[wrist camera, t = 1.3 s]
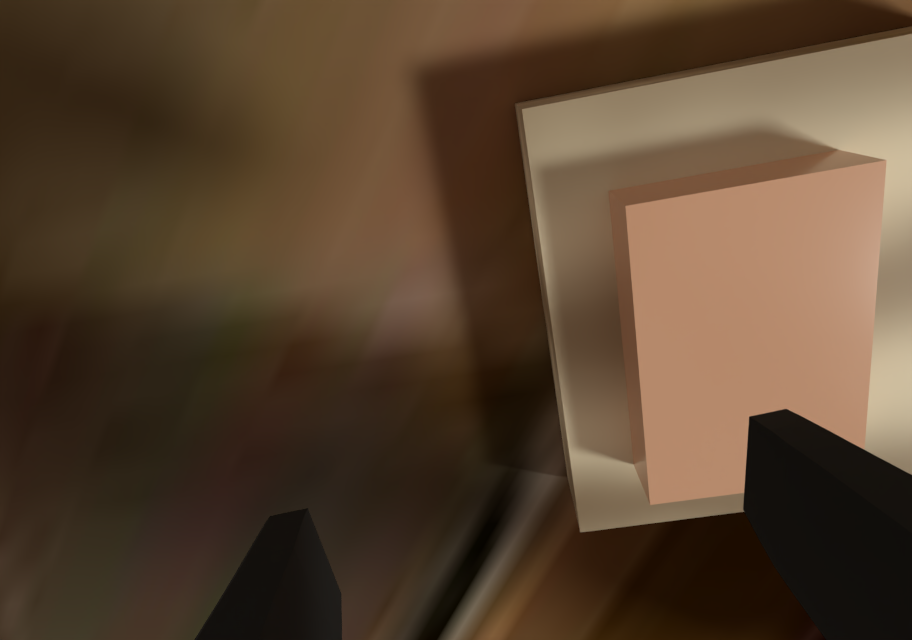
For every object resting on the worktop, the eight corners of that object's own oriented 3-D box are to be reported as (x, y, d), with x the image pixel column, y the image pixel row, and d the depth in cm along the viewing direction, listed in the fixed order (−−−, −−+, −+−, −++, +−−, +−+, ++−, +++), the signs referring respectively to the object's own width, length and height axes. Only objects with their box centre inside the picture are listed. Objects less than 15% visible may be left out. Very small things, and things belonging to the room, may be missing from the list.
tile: (825, 438, 19) (862, 477, 17) (633, 464, 20) (650, 505, 18) (838, 149, 16) (886, 160, 14) (608, 190, 17) (625, 205, 15)
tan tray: (891, 434, 23) (949, 485, 20) (567, 478, 24) (580, 532, 21) (930, 22, 17) (1016, 13, 15) (514, 103, 19) (521, 109, 16)
